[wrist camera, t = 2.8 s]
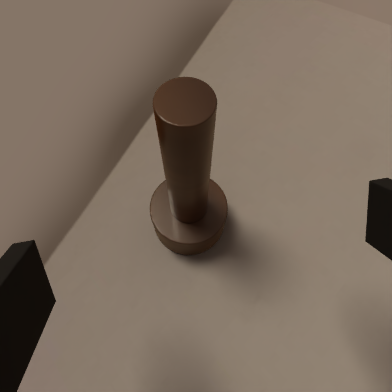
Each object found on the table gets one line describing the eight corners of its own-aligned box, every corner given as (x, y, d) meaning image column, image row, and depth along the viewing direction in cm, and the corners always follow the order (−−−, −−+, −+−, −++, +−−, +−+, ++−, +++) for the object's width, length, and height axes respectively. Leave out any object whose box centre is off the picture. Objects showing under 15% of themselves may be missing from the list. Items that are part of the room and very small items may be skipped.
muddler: (159, 261, 24) (121, 171, 11) (150, 195, 26) (109, 59, 14) (231, 247, 25) (271, 147, 12) (215, 184, 27) (235, 42, 14)
